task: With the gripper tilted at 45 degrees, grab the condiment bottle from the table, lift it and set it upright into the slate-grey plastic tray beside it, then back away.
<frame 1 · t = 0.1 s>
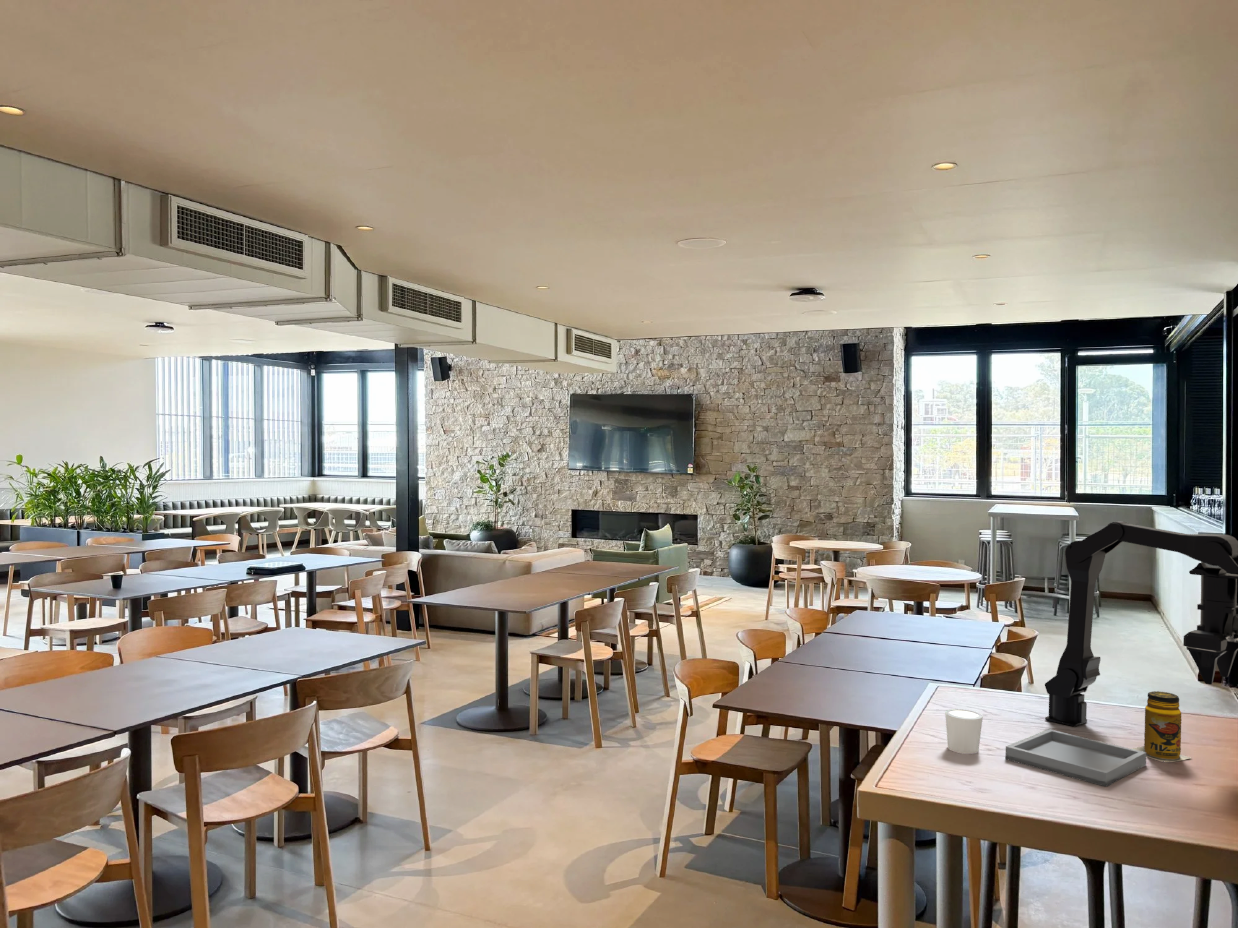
hand: (1216, 680, 175), 15 cm above the table, tool pointing down, fingers open, 9 cm apart
condiment: (1158, 755, 176), on the table
tray: (1075, 761, 170), on the table
shot glass: (963, 750, 177), on the table
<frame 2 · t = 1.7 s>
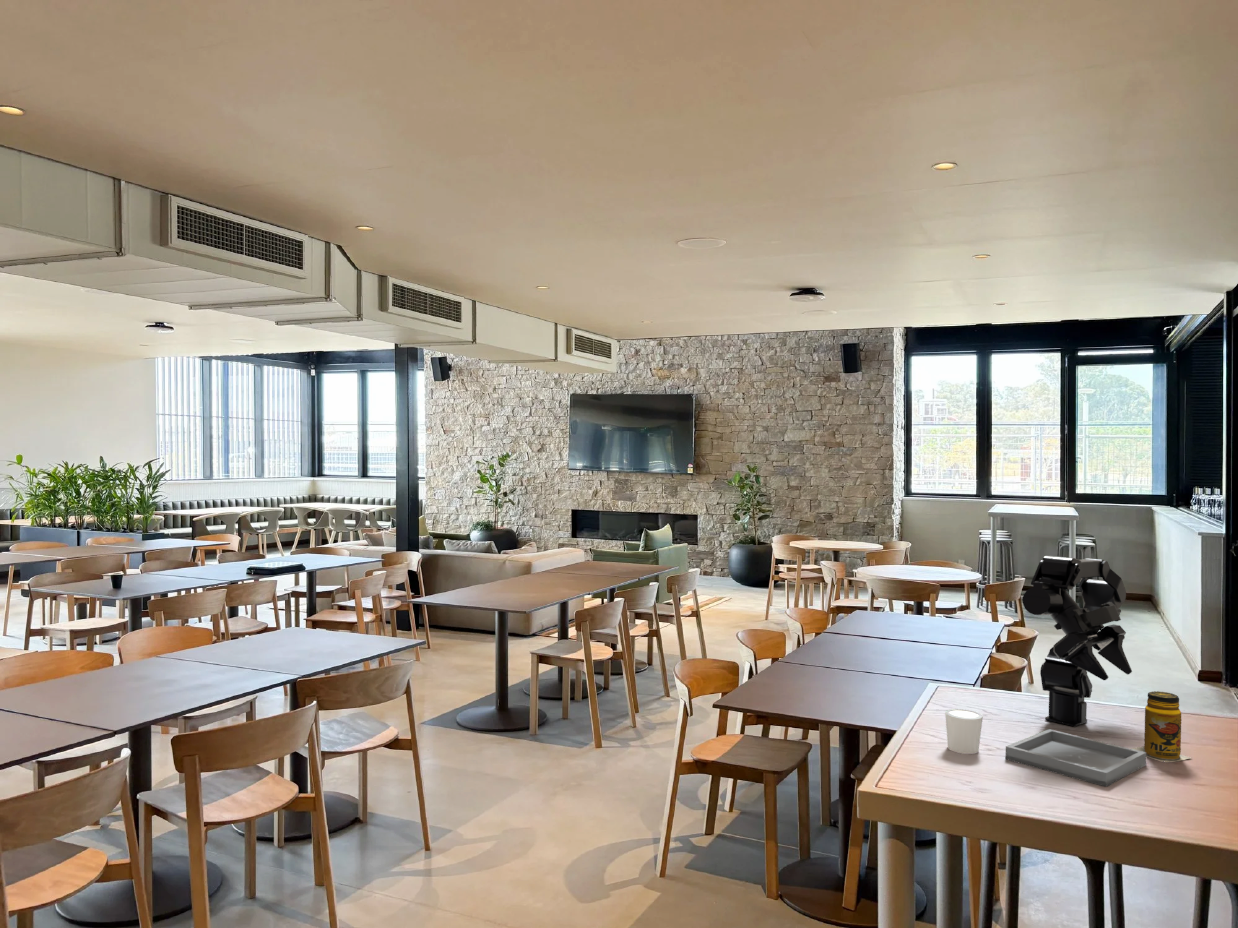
hand: (1118, 676, 182), 13 cm above the table, tool tilted 45°, fingers open, 9 cm apart
nothing on the table moved.
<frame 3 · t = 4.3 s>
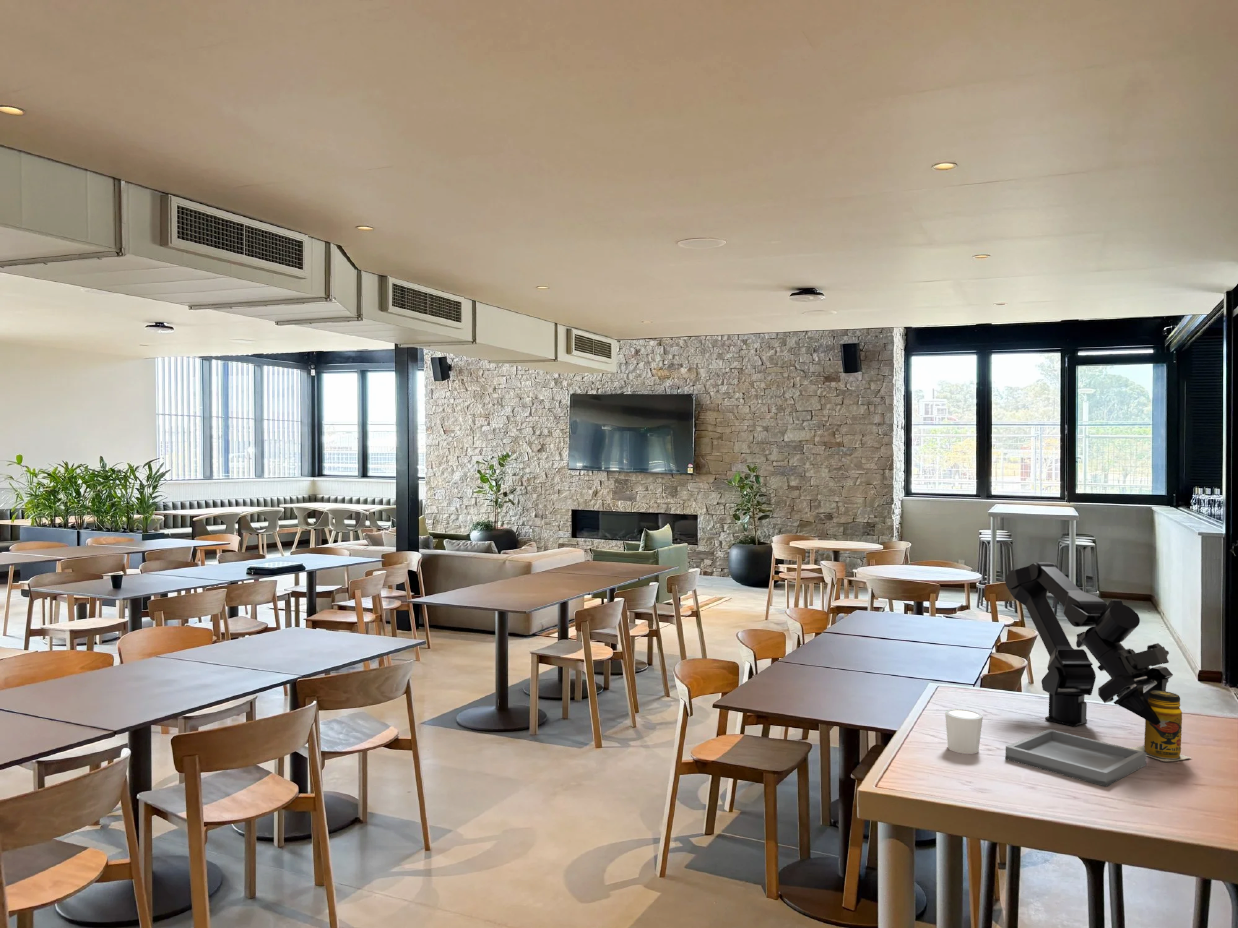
hand: (1166, 721, 174), 7 cm above the table, tool tilted 45°, fingers closed on condiment, 6 cm apart
condiment: (1158, 754, 176), on the table, touching gripper
everything else where it was.
when the fingers open (9 cm above the table, at t = 8.7 s): condiment drops 1 cm, resting on tray.
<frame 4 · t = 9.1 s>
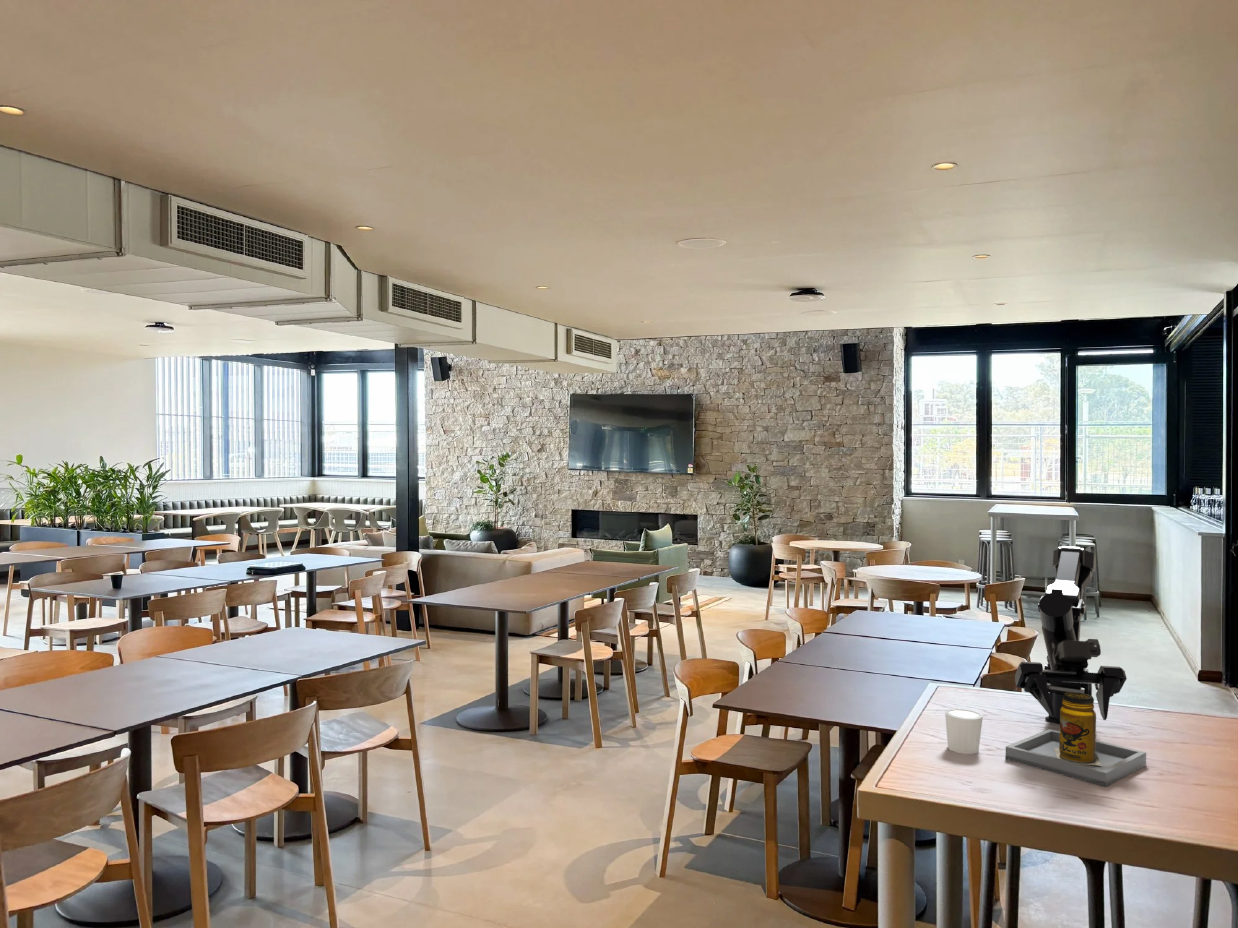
hand: (1078, 717, 169), 9 cm above the table, tool tilted 45°, fingers open, 9 cm apart
condiment: (1077, 758, 170), point 1 cm above the table, touching tray
everything else where it was.
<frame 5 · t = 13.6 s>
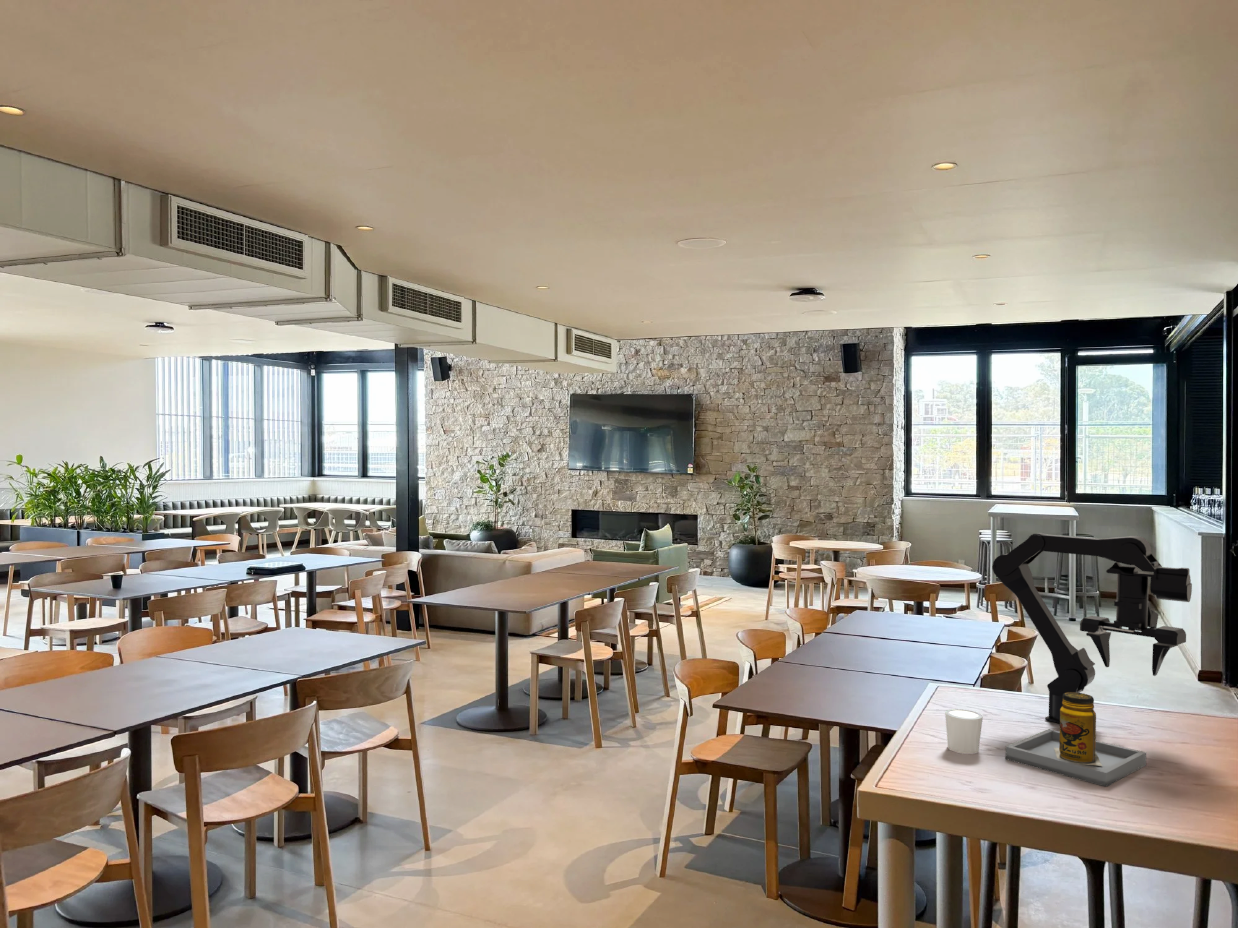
hand: (1130, 671, 189), 13 cm above the table, tool pointing down, fingers open, 9 cm apart
nothing on the table moved.
at the end: condiment inside the target area on the tray (0.5 cm from its centre), point 0.6 cm above the tray's base; condiment tilted 0°; the gripper is holding nothing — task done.
